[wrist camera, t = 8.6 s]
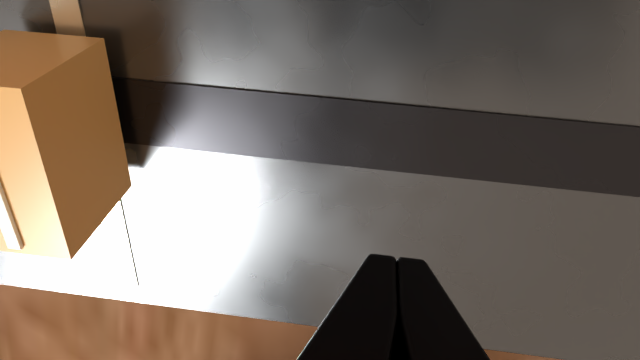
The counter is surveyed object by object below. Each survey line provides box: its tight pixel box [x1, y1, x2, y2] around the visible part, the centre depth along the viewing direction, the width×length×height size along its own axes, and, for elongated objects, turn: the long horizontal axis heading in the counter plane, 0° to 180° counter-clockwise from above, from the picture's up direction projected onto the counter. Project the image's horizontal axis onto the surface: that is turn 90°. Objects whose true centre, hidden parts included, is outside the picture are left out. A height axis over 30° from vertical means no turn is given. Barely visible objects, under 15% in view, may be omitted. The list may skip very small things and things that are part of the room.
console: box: [0, 0, 640, 360], centre depth 13 cm, size 14×24×3 cm, turn 87°
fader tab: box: [0, 30, 132, 260], centre depth 11 cm, size 4×2×3 cm, turn 177°
